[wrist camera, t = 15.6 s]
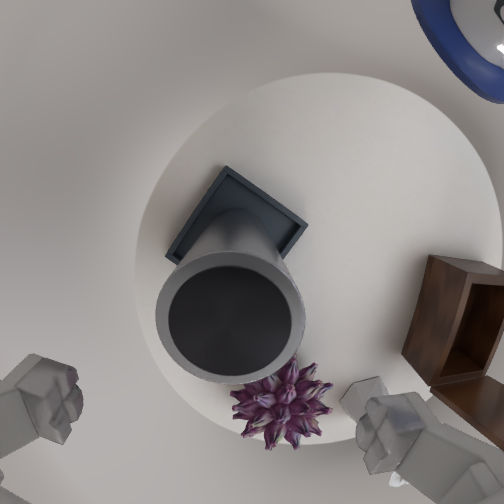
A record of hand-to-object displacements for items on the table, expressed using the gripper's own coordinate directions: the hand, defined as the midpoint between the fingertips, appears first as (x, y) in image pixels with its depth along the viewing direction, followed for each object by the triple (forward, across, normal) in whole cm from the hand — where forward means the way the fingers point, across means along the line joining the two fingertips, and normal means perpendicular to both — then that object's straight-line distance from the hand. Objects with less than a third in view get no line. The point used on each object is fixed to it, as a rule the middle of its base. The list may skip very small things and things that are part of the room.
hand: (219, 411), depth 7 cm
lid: (+10, -30, +12) cm, 34 cm away
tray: (+26, 0, 0) cm, 26 cm away
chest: (+26, -30, +7) cm, 40 cm away
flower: (+26, -7, +17) cm, 32 cm away
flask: (+25, 0, 0) cm, 25 cm away
